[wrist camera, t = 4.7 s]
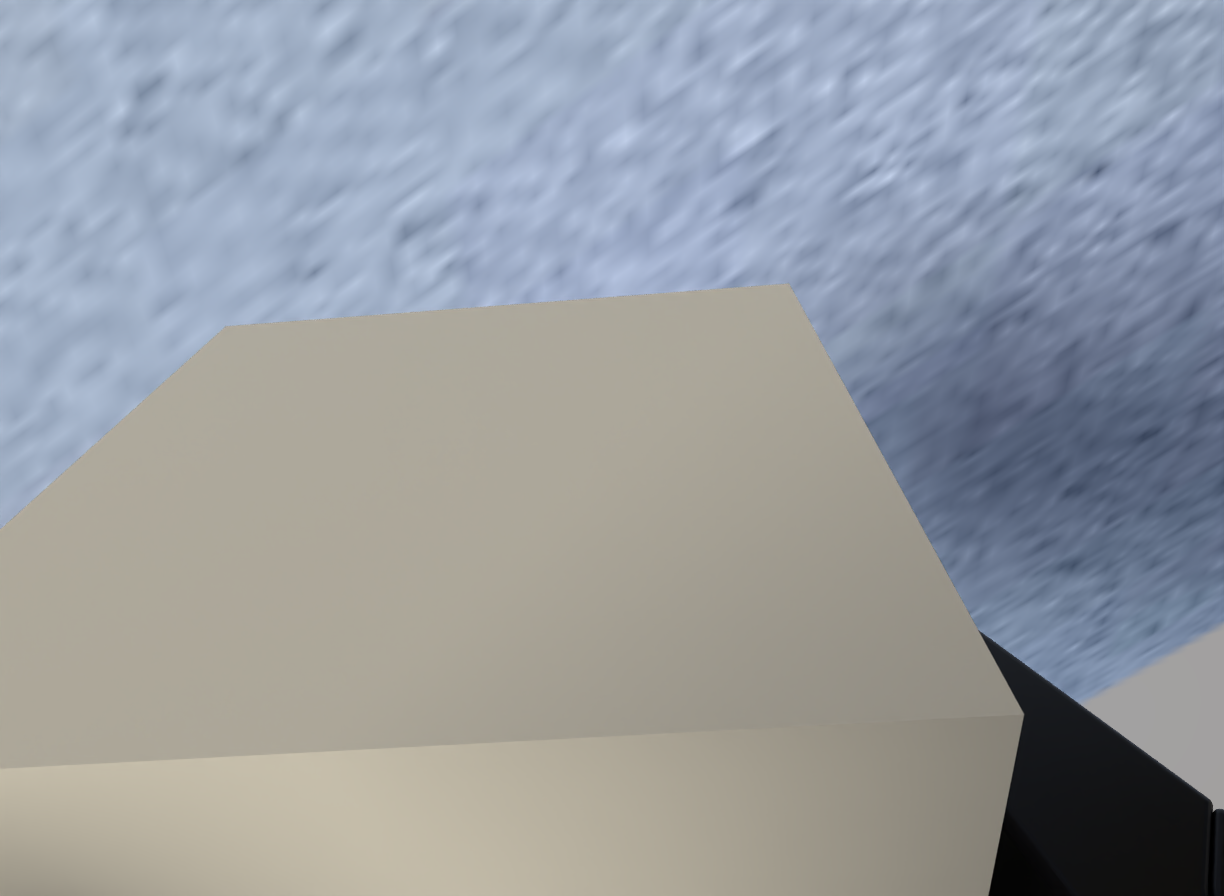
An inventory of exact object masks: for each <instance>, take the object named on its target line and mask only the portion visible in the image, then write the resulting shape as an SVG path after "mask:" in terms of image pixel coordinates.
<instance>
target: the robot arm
mask: <svg viewBox="0 0 1224 896" xmlns="http://www.w3.org/2000/svg"><path fill="white" fill-rule="evenodd" d="M978 631H979V630H978ZM979 633H980V634H981V636H982V638H983V640H984V642H985V644H986V645H987V647H988V649H989V651H990V653H991V655H992V656H993V658H994V660H995V662H996V664H997V666H998V667H999V669H1000V671H1001V673H1002V675H1003V677H1004V678H1005V680H1006V682H1007V684H1008V686H1009V688H1010V689H1011V691H1012V693H1013V695H1014V697H1015V699H1016V700H1017V702H1018V704H1019V706H1020V708H1021V710H1022V711H1023V713H1024V718H1023V723H1022V728H1021V733H1020V738H1019V743H1018V748H1017V753H1016V758H1015V763H1014V768H1013V773H1012V778H1011V783H1010V789H1009V794H1008V799H1007V804H1006V809H1005V814H1004V819H1003V824H1002V829H1001V834H1000V839H999V844H998V849H997V854H996V859H995V864H994V869H993V875H992V880H991V885H990V890H989V895H988V896H1224V810H1223V809H1216V810H1215V811H1214V812H1213V805H1212V802H1211V800H1209V799H1208V798H1207V797H1206V796H1204V795H1203V794H1202V793H1200V792H1199V791H1197V790H1196V789H1195V788H1193V787H1192V786H1191V785H1189V784H1188V783H1187V782H1185V781H1184V780H1182V779H1181V778H1180V777H1178V776H1177V775H1175V774H1174V773H1173V772H1171V771H1170V770H1169V769H1167V768H1166V767H1165V766H1163V765H1162V764H1161V763H1159V762H1158V761H1156V760H1155V759H1154V758H1152V757H1151V756H1150V755H1148V754H1147V753H1146V752H1144V751H1143V750H1141V749H1140V748H1139V747H1137V746H1136V745H1135V744H1133V743H1132V742H1131V741H1129V740H1128V739H1126V738H1125V737H1124V736H1122V735H1121V734H1120V733H1118V732H1117V731H1116V730H1114V729H1113V728H1111V727H1110V726H1108V725H1107V724H1106V723H1105V722H1103V721H1102V720H1100V719H1099V718H1098V717H1096V716H1095V715H1093V714H1092V713H1091V712H1089V711H1088V710H1087V709H1085V708H1084V707H1083V706H1081V705H1080V704H1079V703H1077V702H1076V701H1075V700H1073V699H1072V698H1070V697H1069V696H1068V695H1066V694H1065V693H1064V692H1062V691H1061V690H1060V689H1058V688H1057V687H1055V686H1054V685H1053V684H1051V683H1050V682H1049V681H1047V680H1046V679H1045V678H1043V677H1042V676H1040V675H1039V674H1038V673H1036V672H1035V671H1034V670H1032V669H1031V668H1029V667H1028V666H1027V665H1025V664H1024V663H1023V662H1021V661H1020V660H1019V659H1017V658H1016V657H1014V656H1013V655H1012V654H1010V653H1009V652H1008V651H1006V650H1005V649H1004V648H1002V647H1001V646H999V645H998V644H997V643H995V642H994V641H993V640H991V639H990V638H989V637H987V636H986V635H984V634H983V633H982V632H980V631H979Z"/></svg>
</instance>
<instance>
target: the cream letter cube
mask: <svg viewBox="0 0 1224 896" xmlns="http://www.w3.org/2000/svg"><path fill="white" fill-rule="evenodd" d="M1023 718H1024V713H1023V711H1022V710H1021V708H1020V706H1019V704H1018V702H1017V700H1016V699H1015V697H1014V695H1013V693H1012V691H1011V689H1010V688H1009V686H1008V684H1007V682H1006V680H1005V678H1004V677H1003V675H1002V673H1001V671H1000V669H999V667H998V666H997V664H996V662H995V660H994V658H993V656H992V655H991V653H990V651H989V649H988V647H987V645H986V644H985V642H984V640H983V638H982V636H981V634H980V633H979V631H978V629H977V627H976V625H975V623H974V622H973V620H972V618H971V616H970V614H969V612H968V611H967V609H966V607H965V605H964V603H963V601H962V600H961V598H960V596H959V594H958V592H957V590H956V589H955V587H954V585H953V583H952V581H951V579H950V578H949V576H948V574H947V572H946V570H945V569H944V567H943V565H942V563H941V561H940V559H939V558H938V556H937V554H936V552H935V550H934V548H933V547H932V545H931V543H930V541H929V539H928V537H927V536H926V534H925V532H924V530H923V528H922V526H921V525H920V523H919V521H918V519H917V517H916V515H915V514H914V512H913V510H912V508H911V506H910V504H909V503H908V501H907V499H906V497H905V495H904V493H903V492H902V490H901V488H900V486H899V484H898V482H897V481H896V479H895V477H894V475H893V473H892V471H891V470H890V468H889V466H888V464H887V462H886V460H885V459H884V457H883V455H882V453H881V451H880V449H879V448H878V446H877V444H876V442H875V440H874V438H873V437H872V435H871V433H870V431H869V429H868V427H867V426H866V424H865V422H864V420H863V418H862V416H861V415H860V413H859V411H858V409H857V407H856V405H855V404H854V402H853V400H852V398H851V396H850V394H849V393H848V391H847V389H846V387H845V385H844V383H843V382H842V380H841V378H840V376H839V374H838V373H837V371H836V369H835V367H834V365H833V363H832V362H831V360H830V358H829V356H828V354H827V352H826V351H825V349H824V347H823V345H822V343H821V341H820V340H819V338H818V336H817V334H816V332H815V330H814V329H813V327H812V325H811V323H810V321H809V319H808V318H807V316H806V314H805V312H804V310H803V308H802V307H801V305H800V303H799V301H798V299H797V297H796V296H795V294H794V292H793V290H792V288H791V286H790V285H789V284H777V285H764V286H751V287H738V288H725V289H711V290H698V291H685V292H672V293H659V294H646V295H632V296H619V297H606V298H593V299H580V300H567V301H554V302H540V303H527V304H514V305H501V306H488V307H475V308H461V309H448V310H435V311H422V312H409V313H396V314H382V315H369V316H356V317H343V318H330V319H317V320H303V321H290V322H277V323H264V324H251V325H238V326H226V327H225V328H223V329H222V330H221V331H220V332H219V333H218V334H217V335H216V336H215V337H213V338H212V339H211V340H210V341H209V342H208V343H207V344H206V345H205V346H203V347H202V348H201V349H200V350H199V351H198V352H197V353H196V354H195V355H193V356H192V357H191V358H190V359H189V360H188V361H187V362H186V363H185V364H183V365H182V366H181V367H180V368H179V369H178V370H177V371H176V372H175V373H173V374H172V375H171V376H170V377H169V378H168V379H167V380H166V381H165V382H163V383H162V384H161V385H160V386H159V387H158V388H157V389H156V390H155V391H153V392H152V393H151V394H150V395H149V396H148V397H147V398H146V399H145V400H143V401H142V402H141V403H140V404H139V405H138V406H137V407H136V408H135V409H134V410H132V411H131V412H130V413H129V414H128V415H127V416H126V417H125V418H124V419H122V420H121V421H120V422H119V423H118V424H117V425H116V426H115V427H114V428H112V429H111V430H110V431H109V432H108V433H107V434H106V435H105V436H104V437H102V438H101V439H100V440H99V441H98V442H97V443H96V444H95V445H94V446H92V447H91V448H90V449H89V450H88V451H87V452H86V453H85V454H84V455H82V456H81V457H80V458H79V459H78V460H77V461H76V462H75V463H74V464H72V465H71V466H70V467H69V468H68V469H67V470H66V471H65V472H64V473H62V474H61V475H60V476H59V477H58V478H57V479H56V480H55V481H54V482H52V483H51V484H50V485H49V486H48V487H47V488H46V489H45V490H44V491H42V492H41V493H40V494H39V495H38V496H37V497H36V498H35V499H34V500H32V501H31V502H30V503H29V504H28V505H27V506H26V507H25V508H24V509H22V510H21V511H20V512H19V513H18V514H17V515H16V516H15V517H14V518H12V519H11V520H10V521H9V522H8V523H7V524H6V525H5V526H4V527H3V528H1V529H0V896H988V895H989V890H990V885H991V880H992V875H993V869H994V864H995V859H996V854H997V849H998V844H999V839H1000V834H1001V829H1002V824H1003V819H1004V814H1005V809H1006V804H1007V799H1008V794H1009V789H1010V783H1011V778H1012V773H1013V768H1014V763H1015V758H1016V753H1017V748H1018V743H1019V738H1020V733H1021V728H1022V723H1023Z"/></svg>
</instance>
